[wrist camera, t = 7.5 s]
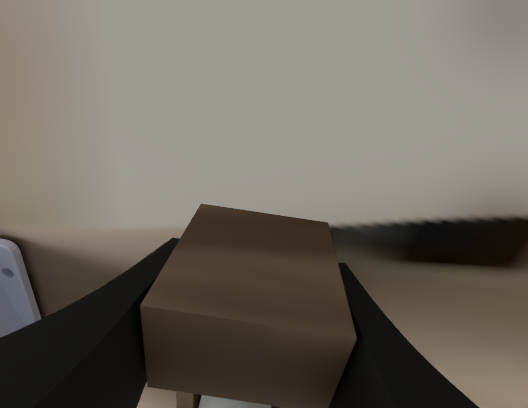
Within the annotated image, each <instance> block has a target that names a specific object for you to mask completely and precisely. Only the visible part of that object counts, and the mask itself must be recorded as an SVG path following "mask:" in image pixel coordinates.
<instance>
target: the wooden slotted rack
mask: <svg viewBox="0 0 528 408" xmlns="http://www.w3.org/2000/svg"><path fill="white" fill-rule="evenodd" d="M140 310H141V321H142V331H143V342H144V353H145V363H146V374H147V385H148V387H153V388H160V389H166V390H173V391H177V408H328V407H329V405H330V403H331V400H332V398H333V395H334V393H335V390H336V388H337V386H338V383H339V381H340V378H341V376H342V373H343V371H344V369H345V366H346V364H347V361H348V359H349V356H350V354H351V352H352V349H353V347H354V344H355V342H356V339H357V337H356V333H355V329H354V325H353V321H352V317H351V313H350V309H349V305H348V301H347V297H346V293H345V289H344V285H343V281H342V277H341V273H340V269H339V265H338V261H337V257H336V253H335V249H334V245H333V241H332V237H331V233H330V229H329V225H328V223H327V222H320V221H313V220H306V219H299V218H293V217H286V216H280V215H273V214H266V213H260V212H253V211H246V210H239V209H233V208H226V207H219V206H213V205H206V204H201V205H200V207H199V208H198V210H197V212H196V213H195V215H194V217H193V218H192V220H191V222H190V223H189V225H188V227H187V228H186V230H185V232H184V233H183V235H182V237H181V238H180V240H179V242H178V243H177V245H176V247H175V248H174V250H173V252H172V253H171V255H170V257H169V258H168V260H167V262H166V263H165V265H164V267H163V268H162V270H161V272H160V273H159V275H158V277H157V278H156V280H155V282H154V283H153V285H152V287H151V288H150V290H149V292H148V293H147V295H146V297H145V298H144V300H143V302H142V303H141V305H140Z"/></svg>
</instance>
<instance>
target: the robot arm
mask: <svg viewBox="0 0 528 408" xmlns="http://www.w3.org/2000/svg"><path fill="white" fill-rule="evenodd" d="M179 240H180V239H178V238H172V239H170V240H169V241H168V242H166V243H165V244H163V245H162V246H161V247H159V248H158V249H156V250H155V251H154V252H152V253H151V254H150V255H148V256H147V257H145V258H144V259H143V260H141V261H140V262H138V263H137V264H136V265H134V266H133V267H131V268H130V269H128V270H127V271H125V272H124V273H123V274H121V275H119V276H118V277H116V278H115V279H113V280H112V281H110V282H108V283H107V284H105V285H104V286H102V287H101V288H99V289H97V290H96V291H94V292H92V293H90V294H89V295H87V296H85V297H83V298H82V299H80V300H78V301H76V302H74V303H72V304H70V305H69V306H67V307H65V308H63V309H61V310H59V311H57V312H55V313H53V314H51V315H49V316H47V317H44V318H42V319H41V316H40V313H39V310H38V306H37V303H36V300H35V297H34V294H33V290H32V287H31V284H30V281H29V278H28V275H27V271H26V268H25V265H24V262H23V259H22V255H21V252H20V249H19V248H18V246H17V245H16V244H15V243H13V242H12V241H9V240H6V239H0V408H137V405H138V402H139V400H140V397H141V394H142V392H143V389H144V387H145V384H146V382H147V374H146V363H145V353H144V342H143V331H142V321H141V310H140V305H141V303H142V302H143V300H144V298H145V297H146V295H147V293H148V292H149V290H150V288H151V287H152V285H153V283H154V282H155V280H156V278H157V277H158V275H159V273H160V272H161V270H162V268H163V267H164V265H165V263H166V262H167V260H168V258H169V257H170V255H171V253H172V252H173V250H174V248H175V247H176V245H177V243H178V242H179ZM338 265H339V269H340V273H341V277H342V281H343V285H344V289H345V293H346V297H347V301H348V305H349V309H350V313H351V317H352V321H353V325H354V329H355V333H356V337H357V339H356V342H355V344H354V347H353V349H352V352H351V354H350V356H349V359H348V361H347V364H346V366H345V369H344V371H343V373H342V376H341V378H340V381H339V383H338V386H337V388H336V390H335V393H334V395H333V398H332V400H331V403H330V405H329V407H328V408H479V407H478V406H477V405H476V404H474V403H473V402H472V401H471V400H470V399H469V398H468V397H466V396H465V395H464V394H463V393H462V392H461V391H460V390H458V389H457V388H456V387H455V386H454V385H453V384H452V383H450V382H449V381H448V380H447V379H446V378H445V377H444V376H443V375H442V374H441V373H440V372H439V371H438V370H437V369H435V368H434V367H433V366H432V365H431V364H430V363H429V362H428V361H427V360H426V359H425V358H424V357H423V356H422V355H421V354H420V353H419V352H418V351H417V350H416V349H415V348H414V347H413V346H412V344H411V343H410V342H409V341H408V340H407V339H406V338H405V337H404V336H403V335H402V334H401V333H400V331H399V330H398V329H397V328H396V327H395V326H394V325H393V324H392V322H391V321H390V320H389V319H388V318H387V317H386V315H385V314H384V313H383V312H382V311H381V309H380V308H379V307H378V306H377V304H376V303H375V302H374V301H373V299H372V298H371V297H370V296H369V294H368V293H367V292H366V290H365V289H364V288H363V286H362V285H361V284H360V282H359V281H358V280H357V278H356V277H355V276H354V274H353V273H352V272H351V270H350V269H349V268H348V266H347V265H346V264H345V263H338Z"/></svg>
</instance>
